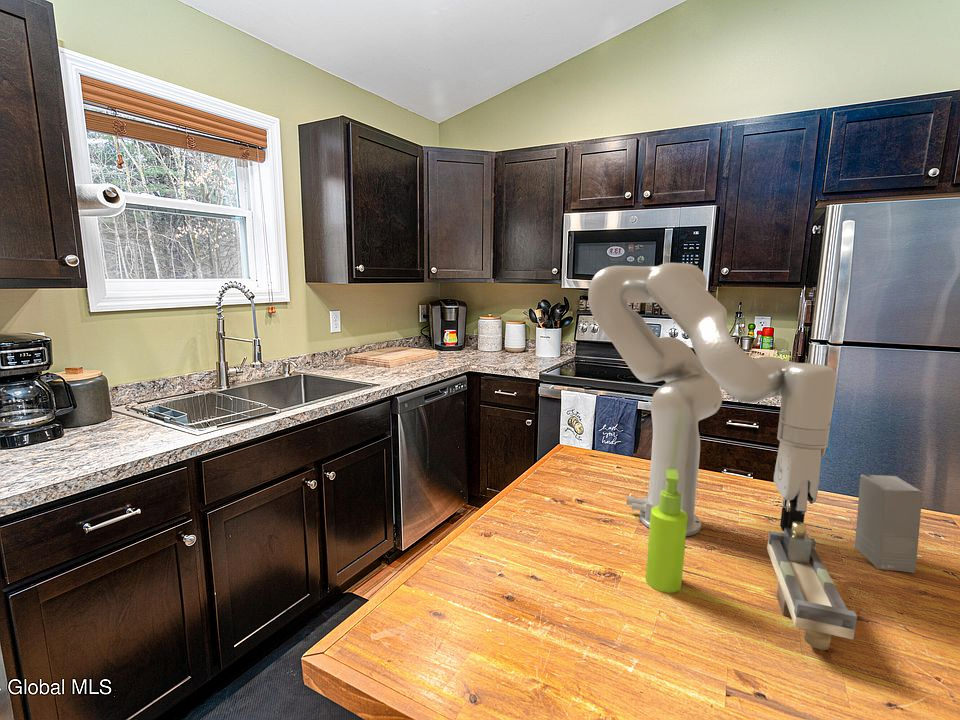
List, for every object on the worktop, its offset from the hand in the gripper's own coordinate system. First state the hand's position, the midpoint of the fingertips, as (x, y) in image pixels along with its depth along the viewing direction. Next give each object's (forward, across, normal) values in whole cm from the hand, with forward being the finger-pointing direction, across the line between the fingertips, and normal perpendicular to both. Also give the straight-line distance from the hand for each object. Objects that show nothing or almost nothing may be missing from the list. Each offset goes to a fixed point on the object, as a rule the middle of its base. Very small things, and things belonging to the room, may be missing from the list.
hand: (790, 530), depth 90 cm
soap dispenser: (+8, +12, -21) cm, 26 cm away
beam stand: (+8, +12, 0) cm, 14 cm away
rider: (+2, +5, 0) cm, 6 cm away
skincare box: (+8, -11, +18) cm, 22 cm away
